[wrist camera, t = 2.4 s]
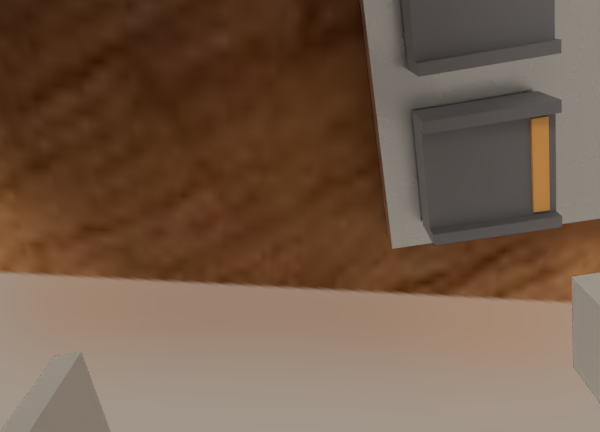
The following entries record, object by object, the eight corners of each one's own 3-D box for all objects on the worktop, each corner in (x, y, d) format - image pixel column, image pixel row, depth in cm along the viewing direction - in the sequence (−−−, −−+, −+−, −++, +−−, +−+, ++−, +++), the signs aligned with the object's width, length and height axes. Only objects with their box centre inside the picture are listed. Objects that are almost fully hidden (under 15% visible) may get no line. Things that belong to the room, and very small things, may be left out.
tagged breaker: (423, 224, 31) (433, 245, 29) (411, 111, 29) (422, 121, 26) (539, 207, 31) (562, 227, 28) (537, 90, 29) (561, 99, 26)
